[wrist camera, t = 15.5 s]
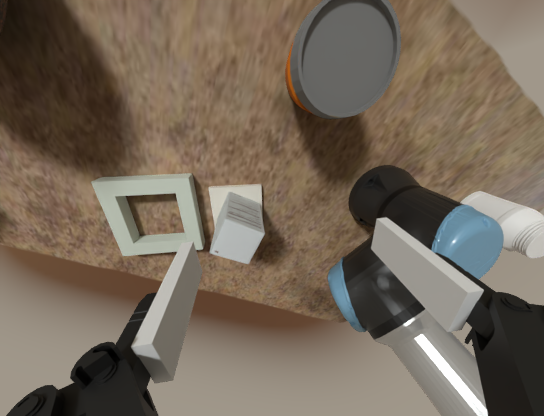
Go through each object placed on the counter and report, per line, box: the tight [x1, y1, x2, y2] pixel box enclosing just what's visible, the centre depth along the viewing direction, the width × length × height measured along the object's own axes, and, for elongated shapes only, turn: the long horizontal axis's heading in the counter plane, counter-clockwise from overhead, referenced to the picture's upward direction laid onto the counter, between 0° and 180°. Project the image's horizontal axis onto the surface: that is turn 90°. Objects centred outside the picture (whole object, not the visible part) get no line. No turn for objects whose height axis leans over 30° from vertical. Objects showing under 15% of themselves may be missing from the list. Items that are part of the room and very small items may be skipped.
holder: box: [91, 173, 205, 256], centre depth 42 cm, size 17×17×3 cm
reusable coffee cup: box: [285, 0, 401, 119], centre depth 29 cm, size 13×13×15 cm
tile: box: [209, 184, 263, 227], centre depth 45 cm, size 11×11×1 cm
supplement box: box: [210, 191, 265, 264], centre depth 39 cm, size 7×7×13 cm
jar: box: [460, 191, 544, 258], centre depth 47 cm, size 12×10×15 cm
